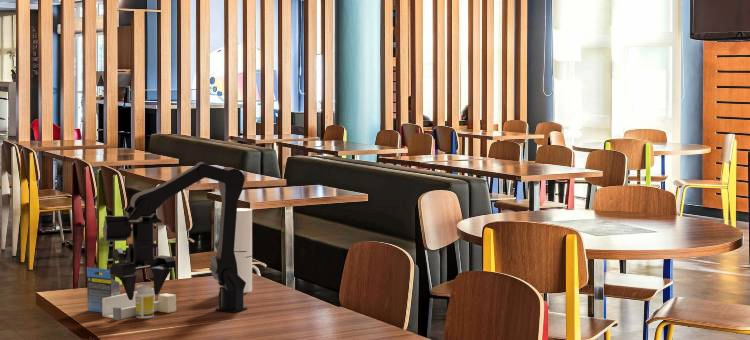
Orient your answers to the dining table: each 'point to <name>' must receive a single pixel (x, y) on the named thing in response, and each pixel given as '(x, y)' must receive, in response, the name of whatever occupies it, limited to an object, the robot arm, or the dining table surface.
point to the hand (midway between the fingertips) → (143, 297)
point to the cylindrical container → (244, 246)
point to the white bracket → (134, 305)
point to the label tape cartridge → (100, 288)
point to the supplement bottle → (144, 302)
